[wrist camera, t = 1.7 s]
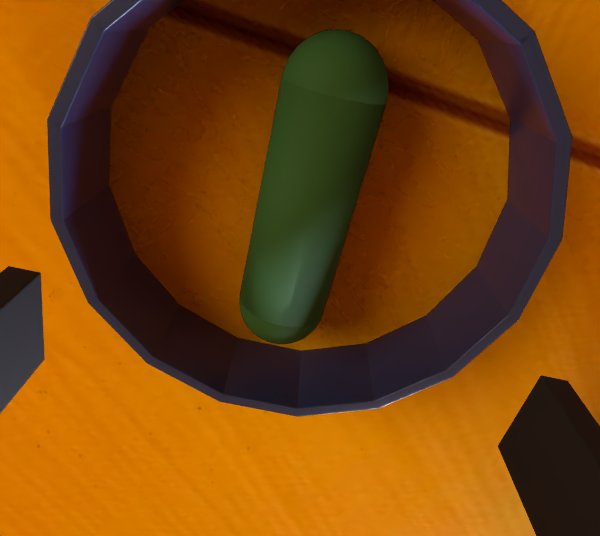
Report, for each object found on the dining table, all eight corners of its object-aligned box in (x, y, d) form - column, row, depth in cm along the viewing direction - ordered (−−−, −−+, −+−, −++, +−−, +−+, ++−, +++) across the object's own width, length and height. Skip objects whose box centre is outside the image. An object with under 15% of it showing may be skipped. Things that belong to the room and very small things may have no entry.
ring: (103, -122, 19) (36, -167, 14) (606, 13, 20) (687, 11, 16) (95, 316, 29) (54, 370, 24) (430, 384, 30) (449, 446, 26)
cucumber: (295, 17, 21) (290, 16, 17) (394, 42, 21) (412, 47, 17) (239, 304, 28) (226, 352, 24) (314, 319, 28) (313, 369, 24)
